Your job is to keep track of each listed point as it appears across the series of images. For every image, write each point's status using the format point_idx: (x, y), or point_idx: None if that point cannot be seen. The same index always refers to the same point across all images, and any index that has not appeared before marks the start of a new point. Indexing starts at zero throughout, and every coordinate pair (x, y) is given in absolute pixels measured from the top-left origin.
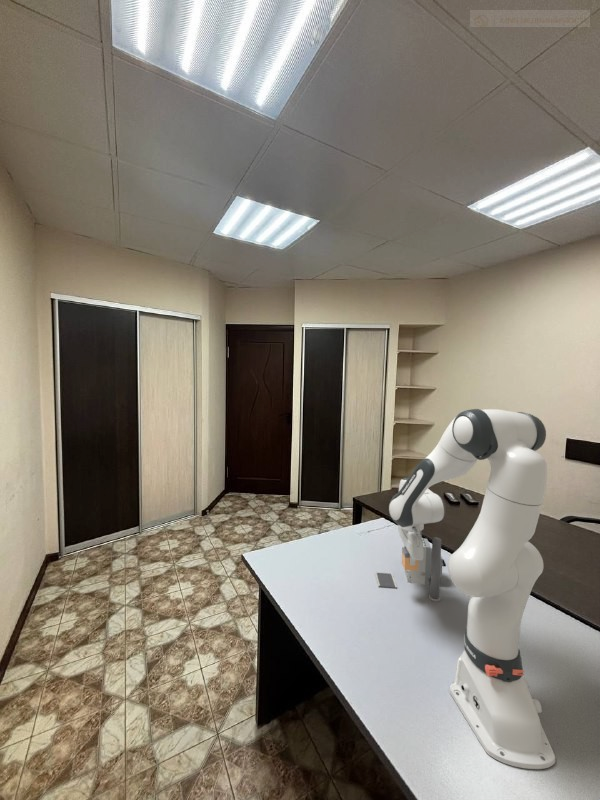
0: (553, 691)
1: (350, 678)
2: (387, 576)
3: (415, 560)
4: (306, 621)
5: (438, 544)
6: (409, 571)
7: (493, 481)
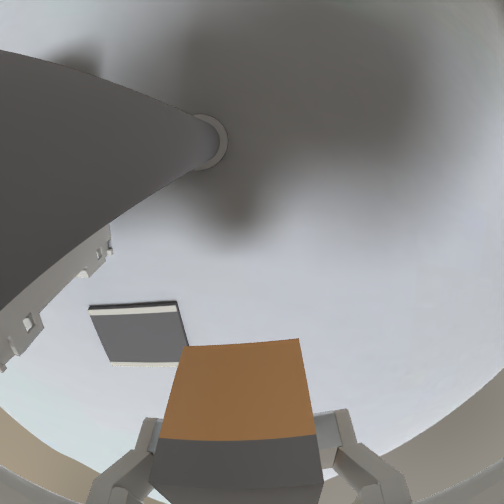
0: (501, 2)
1: (482, 374)
2: (114, 330)
3: (361, 444)
4: None
5: None
6: (87, 268)
7: None
